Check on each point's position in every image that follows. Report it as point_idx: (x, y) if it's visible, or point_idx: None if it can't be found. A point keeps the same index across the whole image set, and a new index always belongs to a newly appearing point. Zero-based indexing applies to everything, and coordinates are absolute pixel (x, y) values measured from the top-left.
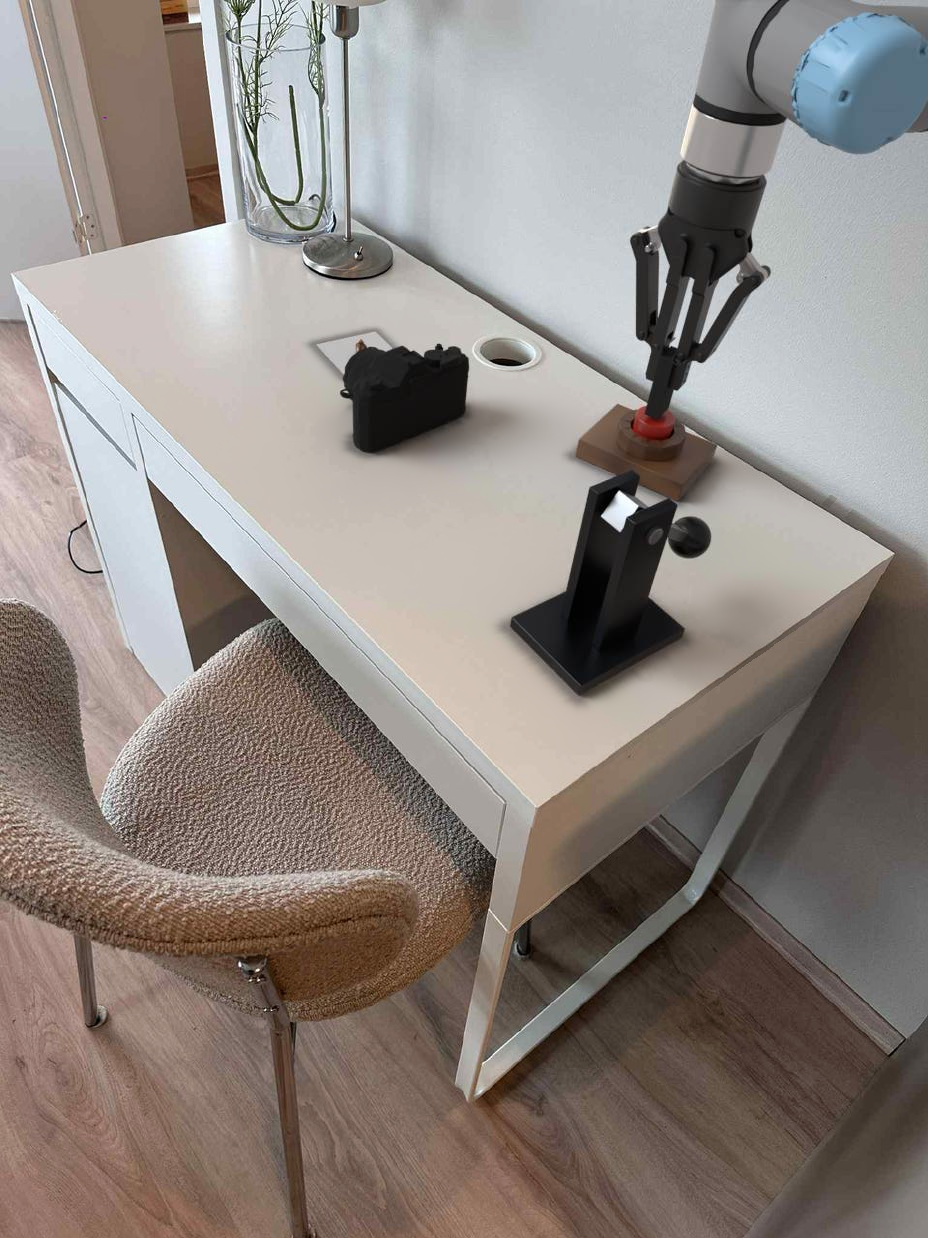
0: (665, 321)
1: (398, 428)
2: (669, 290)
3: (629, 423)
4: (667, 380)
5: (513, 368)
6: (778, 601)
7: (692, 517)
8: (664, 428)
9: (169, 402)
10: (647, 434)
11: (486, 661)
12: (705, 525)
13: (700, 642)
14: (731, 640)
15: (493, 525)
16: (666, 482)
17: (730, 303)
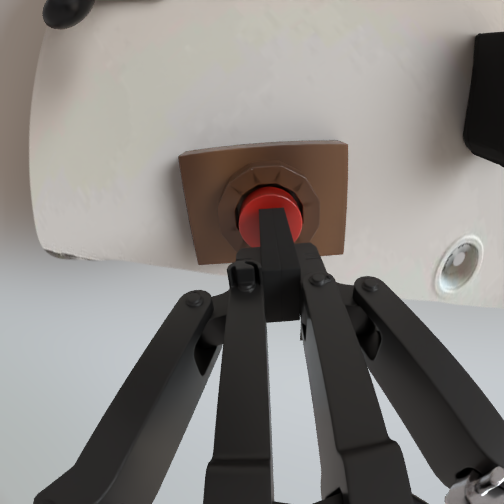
0: (328, 336)
1: (485, 56)
2: (367, 423)
3: (301, 200)
4: (262, 244)
5: (451, 249)
6: (45, 109)
7: (58, 2)
8: (243, 208)
9: None
10: (263, 189)
11: None
12: (44, 11)
13: None
14: (53, 37)
15: None
16: (202, 151)
17: (112, 450)
